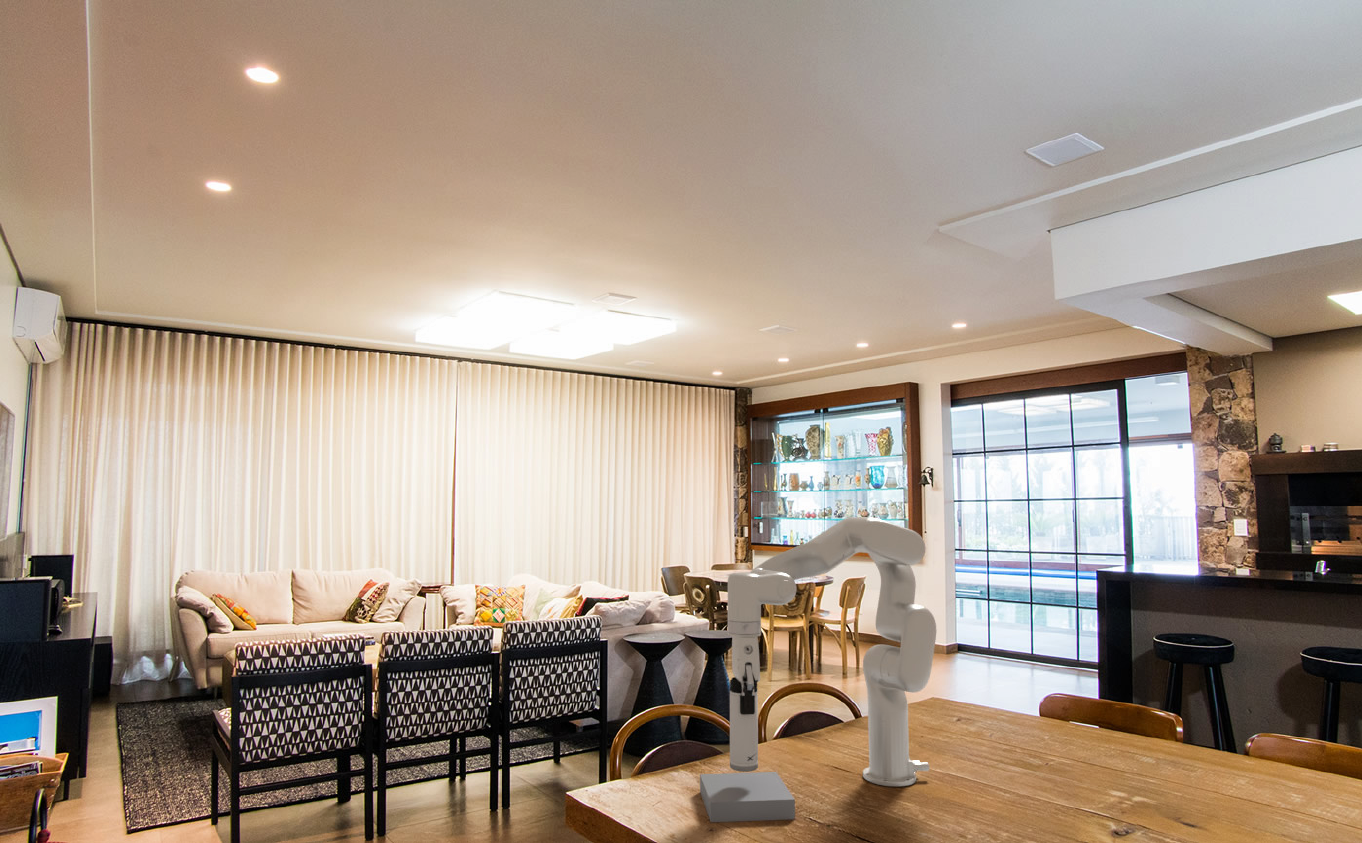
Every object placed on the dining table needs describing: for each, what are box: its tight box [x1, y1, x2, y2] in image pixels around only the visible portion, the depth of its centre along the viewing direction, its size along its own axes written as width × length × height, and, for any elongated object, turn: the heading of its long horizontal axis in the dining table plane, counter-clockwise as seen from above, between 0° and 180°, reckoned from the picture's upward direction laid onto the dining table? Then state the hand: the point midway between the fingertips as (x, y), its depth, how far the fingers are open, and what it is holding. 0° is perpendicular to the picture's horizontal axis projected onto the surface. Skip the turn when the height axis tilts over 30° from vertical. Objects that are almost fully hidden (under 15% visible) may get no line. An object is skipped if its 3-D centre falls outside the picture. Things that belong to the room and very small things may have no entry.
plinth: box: [699, 771, 796, 823], centre depth 179 cm, size 18×18×4 cm
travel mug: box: [729, 676, 759, 773], centre depth 181 cm, size 6×7×20 cm
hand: (744, 709), depth 181 cm, fingers closed on travel mug, 6 cm apart
